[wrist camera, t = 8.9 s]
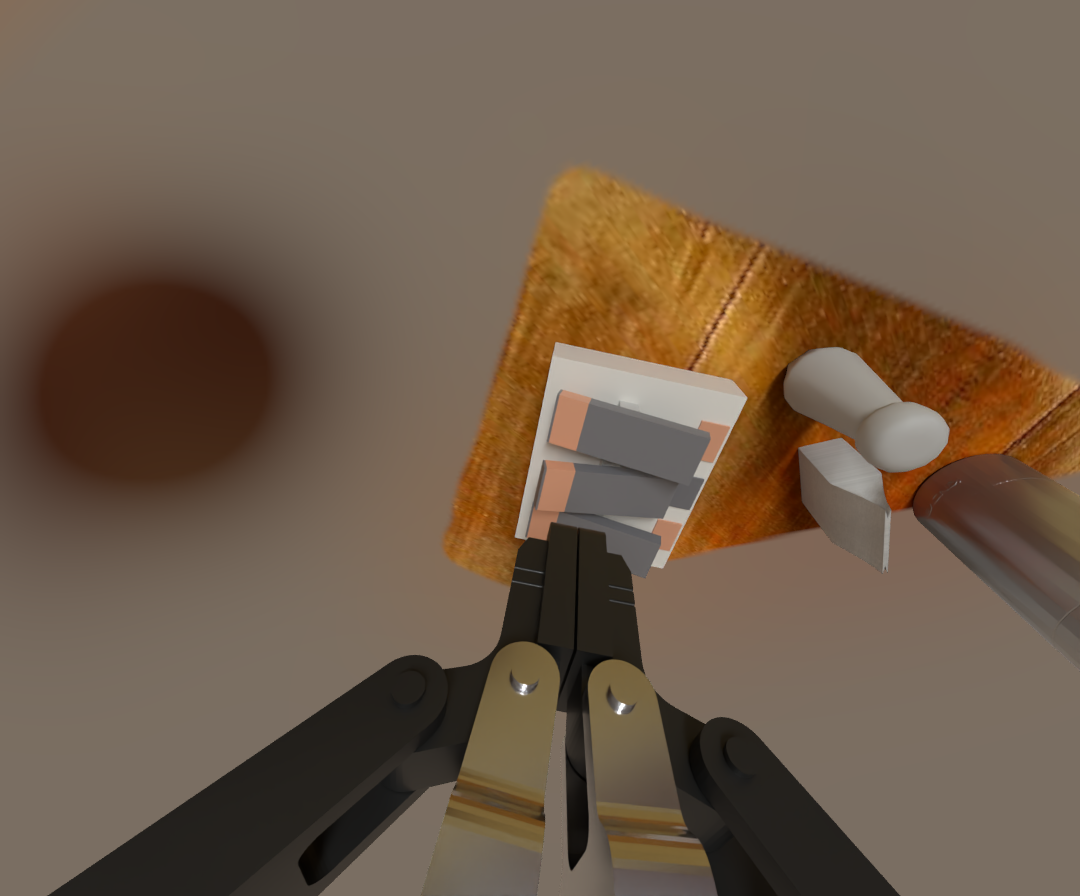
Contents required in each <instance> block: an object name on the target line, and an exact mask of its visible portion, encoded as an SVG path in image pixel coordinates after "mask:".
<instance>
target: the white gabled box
mask: <svg viewBox="0 0 1080 896" xmlns="http://www.w3.org/2000/svg"><path fill="white" fill-rule="evenodd" d="M798 454H799V467H800V481H801V495H802V503H803V504H804V505H805V507H806V508H807V509H808V511H809V512H810V513H811V515H812V516H813V517H814V519H815V520H816V522H817V523H818V524H819V526H820V527H821V528H822V530H823V531H824V532H825V534H826V535H827V536H828V538H829V539H830V540H831V542H832V543H834V544H836V545H837V546H839V547H841V548H843V549H845V550H846V551H848V552H850V553H852V554H853V555H855V556H857V557H859V558H860V559H862V560H864V561H865V562H867V563H868V564H870V565H872V566H873V567H875V568H876V569H877V570H878V571H880V572H881V573H882V574H883V571H884V569H886V571H887V572H888V556H889V539H890V521H891V508H890V507H889V505H888V503H887V501H886V498H885V495H884V490H883V482H882V474H881V472H880V471H878V470H877V469H876V468H875V467H874V466H873V465H871V464H869V463H868V462H867V461H866V460H865V459H864V458H863V456H862V455H860V454H859V453H858V452H857V451H856V450H855V449H854V448H852V447H851V446H850V445H849V444H848V443H847V442H846V441H845V440H843V439H842V438H839V439H834V440H830V441H825V442H821V443H817V444H812V445H808V446H804V447H799V448H798Z"/></svg>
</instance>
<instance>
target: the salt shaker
mask: <svg viewBox="0 0 1080 896" xmlns="http://www.w3.org/2000/svg"><path fill="white" fill-rule="evenodd" d="M784 398H785V399H786V401H787V402H788V403H789V405H790V406H791V407H792V408H793V410H794V411H796V412H799V413H801V414H803V415H805V416H807V417H809V418H812V419H814V420H816V421H818V422H820V423H823V424H825V425H827V426H829V427H831V428H833V429H835V430H837V431H839V432H841V433H843V434H845V435H847V436H849V437H851V438H853V439H855V446H856V448H857V450H858V451H859V452H860V454H861V455H862V456H863V458H864V459H865V460H866V461H867V462H868V463H869V464H871V465H873V466H875V467H877V468H879V469H882V470H884V471H887V472H906V471H909V470H912V469H915V468H918V467H921V466H924V465H926V464H927V463H929V462H930V461H932V460H933V459H935V458H936V457H937V456H938V455H939V454H940V452H941V451H942V450H943V448H944V447H945V446H946V444H947V443H948V436H949V428H948V426H947V424H946V423H945V421H944V419H943V418H942V417H941V416H940V415H939V414H938V413H937V412H935V411H933V410H931V409H929V408H927V407H924V406H922V405H919V404H916V403H913V402H902V401H901V400H900V399H899V398H898V397H897V395H896V394H895V393H894V392H893V391H892V390H891V389H890V388H889V387H888V386H887V385H886V384H885V383H884V382H883V381H882V380H881V379H880V378H879V377H878V376H877V375H876V374H875V373H874V372H873V371H872V369H871V368H870V367H869V366H868V365H867V364H866V363H865V362H864V361H863V360H862V359H861V358H860V357H859V356H858V355H857V354H855V353H853V352H850V351H848V350H845V349H843V348H839V347H832V348H820V349H812V350H808V351H807V352H805V353H804V354H802V355H801V356H799V357H798V358H797V359H795V360H794V361H792V362H791V363H789V364H788V368H787V373H786V377H785V380H784Z"/></svg>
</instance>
